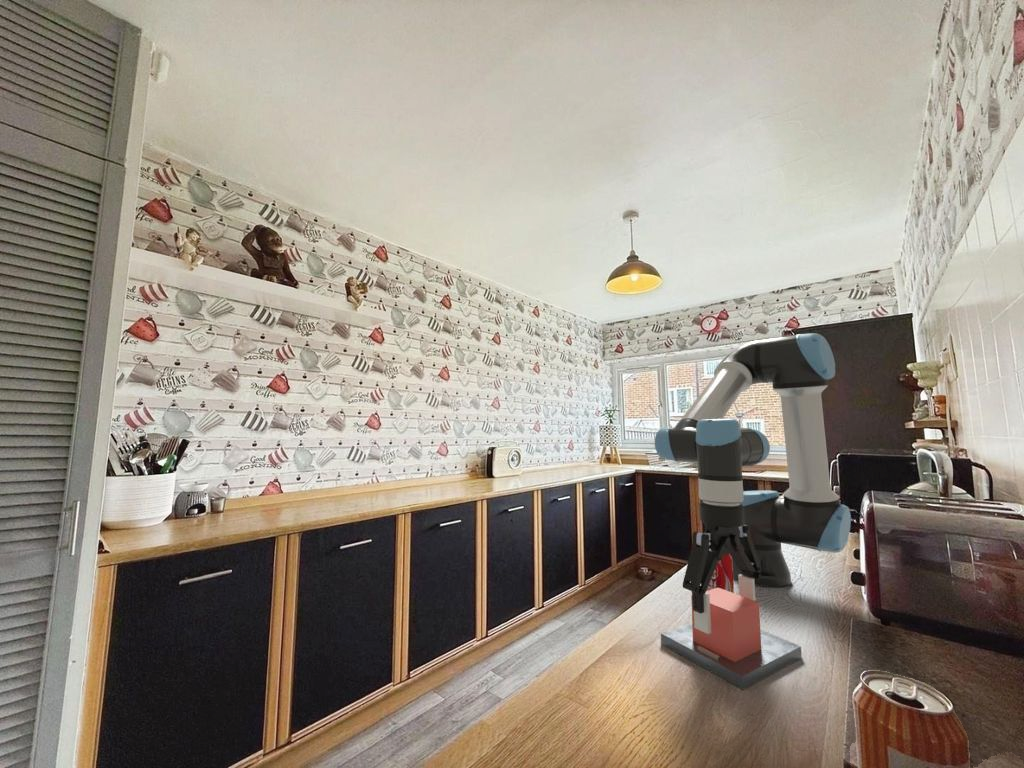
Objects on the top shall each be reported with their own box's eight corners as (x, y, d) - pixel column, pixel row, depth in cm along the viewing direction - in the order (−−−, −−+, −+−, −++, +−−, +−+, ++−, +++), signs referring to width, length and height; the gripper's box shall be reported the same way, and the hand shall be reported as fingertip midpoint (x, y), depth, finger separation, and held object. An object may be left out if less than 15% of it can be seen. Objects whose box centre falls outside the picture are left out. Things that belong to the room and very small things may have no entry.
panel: (719, 622, 90) (718, 608, 90) (801, 658, 76) (800, 641, 76) (661, 644, 81) (660, 628, 81) (743, 689, 67) (742, 670, 67)
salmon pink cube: (719, 630, 82) (717, 587, 83) (761, 649, 75) (759, 602, 76) (692, 641, 78) (691, 595, 79) (734, 662, 71) (732, 612, 72)
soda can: (738, 608, 97) (736, 553, 98) (705, 605, 98) (703, 552, 99) (729, 595, 104) (727, 545, 105) (698, 593, 105) (696, 543, 106)
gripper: (740, 493, 89) (746, 598, 87) (658, 505, 76) (662, 629, 74) (778, 498, 82) (784, 612, 80) (695, 513, 70) (701, 649, 68)
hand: (726, 621), depth 77 cm, fingers open, 13 cm apart
